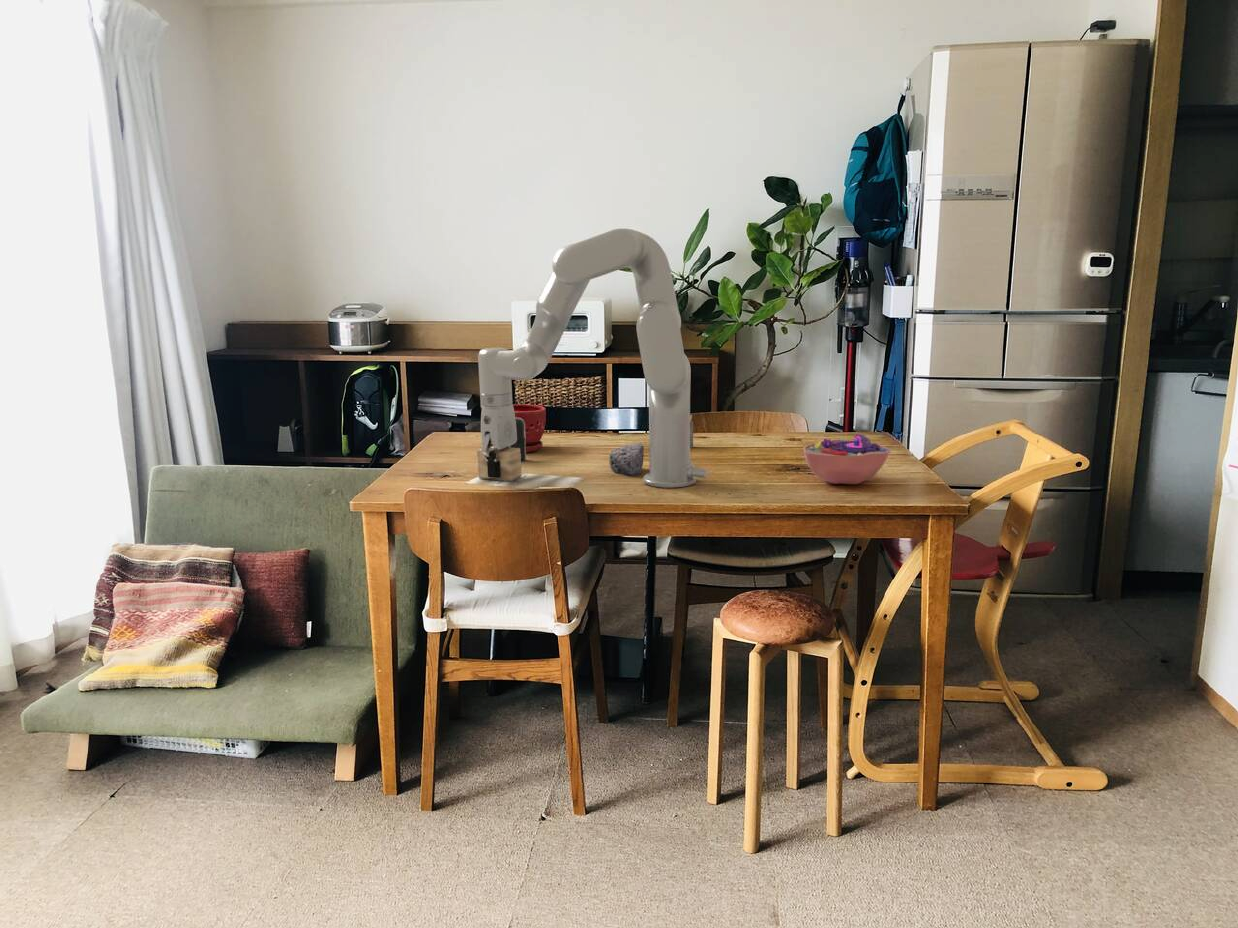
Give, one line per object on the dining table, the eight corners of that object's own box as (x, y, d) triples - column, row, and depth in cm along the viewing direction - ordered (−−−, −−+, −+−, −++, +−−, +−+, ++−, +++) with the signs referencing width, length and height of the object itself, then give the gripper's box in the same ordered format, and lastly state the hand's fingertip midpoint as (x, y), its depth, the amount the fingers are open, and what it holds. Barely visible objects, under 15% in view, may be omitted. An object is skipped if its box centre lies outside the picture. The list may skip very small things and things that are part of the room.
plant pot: (524, 456, 252) (522, 412, 250) (489, 451, 260) (487, 408, 257) (556, 448, 263) (555, 405, 260) (521, 442, 270) (520, 401, 268)
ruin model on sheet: (693, 447, 262) (693, 413, 260) (691, 450, 259) (691, 415, 257) (653, 446, 264) (652, 412, 262) (651, 448, 261) (650, 414, 259)
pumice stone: (605, 484, 232) (639, 477, 226) (596, 454, 231) (630, 446, 225) (625, 474, 240) (658, 467, 235) (616, 445, 239) (650, 437, 234)
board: (586, 479, 228) (586, 478, 227) (563, 492, 216) (563, 491, 216) (491, 471, 237) (491, 470, 237) (464, 483, 225) (464, 482, 225)
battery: (497, 463, 246) (495, 420, 243) (500, 459, 249) (498, 417, 247) (524, 463, 245) (522, 419, 243) (526, 459, 249) (525, 417, 246)
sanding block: (521, 476, 229) (520, 448, 228) (511, 481, 225) (510, 452, 223) (488, 473, 233) (487, 445, 231) (478, 478, 228) (477, 450, 226)
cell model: (793, 475, 228) (794, 429, 225) (874, 472, 229) (876, 426, 227) (812, 493, 212) (813, 443, 209) (899, 490, 213) (902, 441, 210)
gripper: (492, 406, 215) (496, 484, 220) (526, 395, 231) (529, 467, 235) (464, 405, 218) (468, 481, 222) (499, 394, 233) (503, 465, 238)
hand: (500, 473), depth 229 cm, fingers closed on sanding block, 4 cm apart
